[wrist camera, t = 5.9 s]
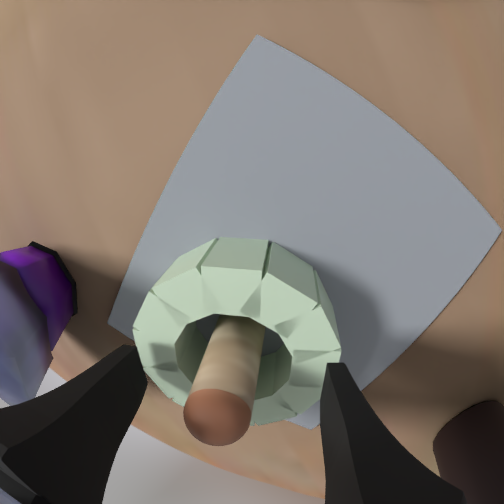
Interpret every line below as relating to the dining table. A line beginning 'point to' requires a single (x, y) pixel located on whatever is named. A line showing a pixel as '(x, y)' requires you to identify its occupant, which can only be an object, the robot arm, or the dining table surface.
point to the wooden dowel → (226, 382)
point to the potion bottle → (31, 317)
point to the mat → (318, 207)
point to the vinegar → (474, 453)
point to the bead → (248, 305)
